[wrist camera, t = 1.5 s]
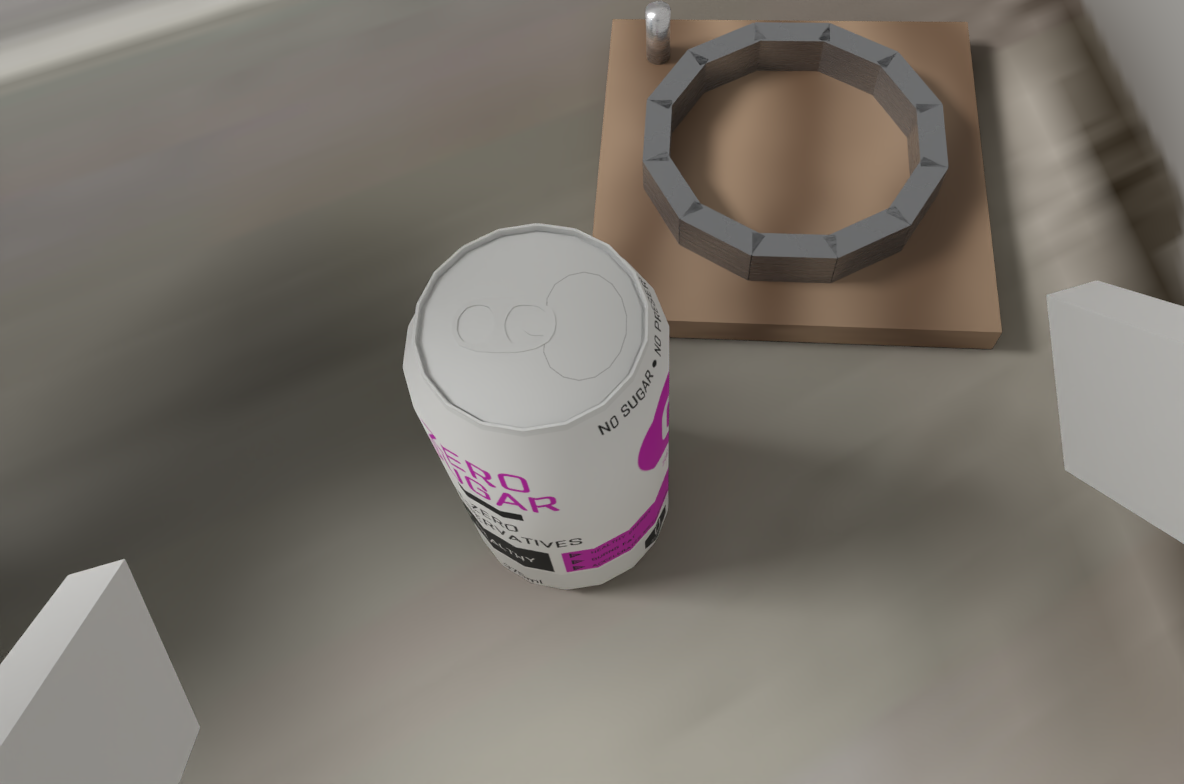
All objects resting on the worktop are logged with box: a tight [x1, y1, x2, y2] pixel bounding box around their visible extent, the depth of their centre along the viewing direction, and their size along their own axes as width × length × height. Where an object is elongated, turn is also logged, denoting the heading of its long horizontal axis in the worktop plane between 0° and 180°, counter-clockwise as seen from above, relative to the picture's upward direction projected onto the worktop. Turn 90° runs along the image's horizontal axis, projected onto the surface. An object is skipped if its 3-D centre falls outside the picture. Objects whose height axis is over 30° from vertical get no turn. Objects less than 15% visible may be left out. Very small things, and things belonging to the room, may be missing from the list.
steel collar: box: [643, 1, 948, 283], centre depth 47 cm, size 14×14×3 cm
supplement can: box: [403, 223, 669, 590], centre depth 36 cm, size 8×8×15 cm
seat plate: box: [592, 19, 1002, 349], centre depth 49 cm, size 18×18×2 cm
